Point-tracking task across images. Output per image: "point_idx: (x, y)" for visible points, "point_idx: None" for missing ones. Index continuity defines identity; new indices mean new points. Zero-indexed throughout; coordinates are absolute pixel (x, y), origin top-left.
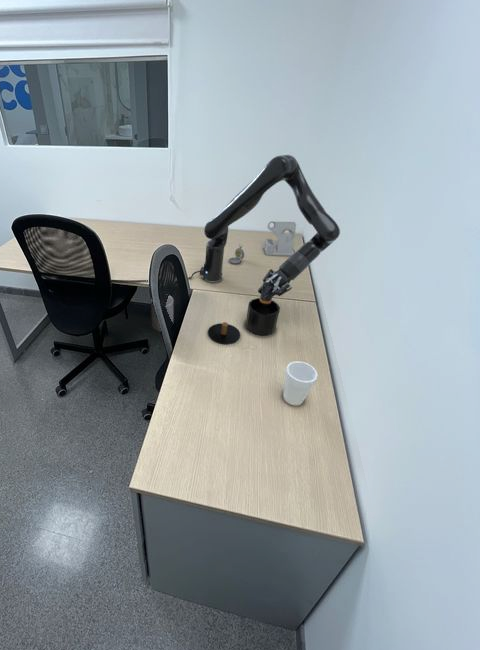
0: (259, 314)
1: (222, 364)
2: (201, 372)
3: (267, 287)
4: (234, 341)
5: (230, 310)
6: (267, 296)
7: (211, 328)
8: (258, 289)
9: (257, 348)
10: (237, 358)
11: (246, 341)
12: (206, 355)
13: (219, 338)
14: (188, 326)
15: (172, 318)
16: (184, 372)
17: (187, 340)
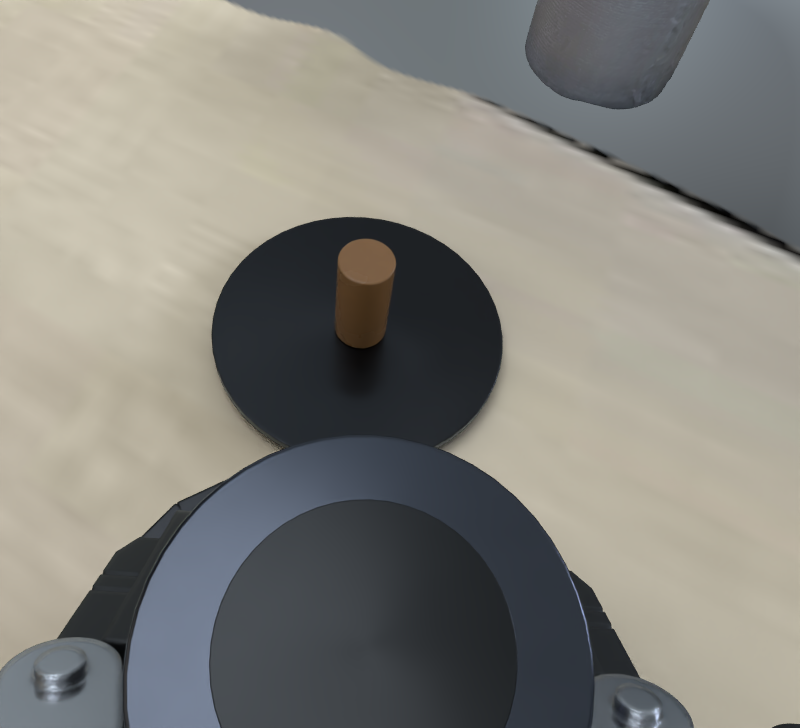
0: (174, 505)
1: (62, 186)
2: (78, 66)
3: (223, 493)
4: (218, 349)
5: (714, 587)
6: (155, 557)
7: (454, 271)
8: (575, 576)
9: (51, 514)
10: (50, 297)
11: (192, 472)
12: (201, 145)
13: (309, 266)
14: (547, 175)
15: (580, 14)
16: (134, 7)
17: (398, 115)
